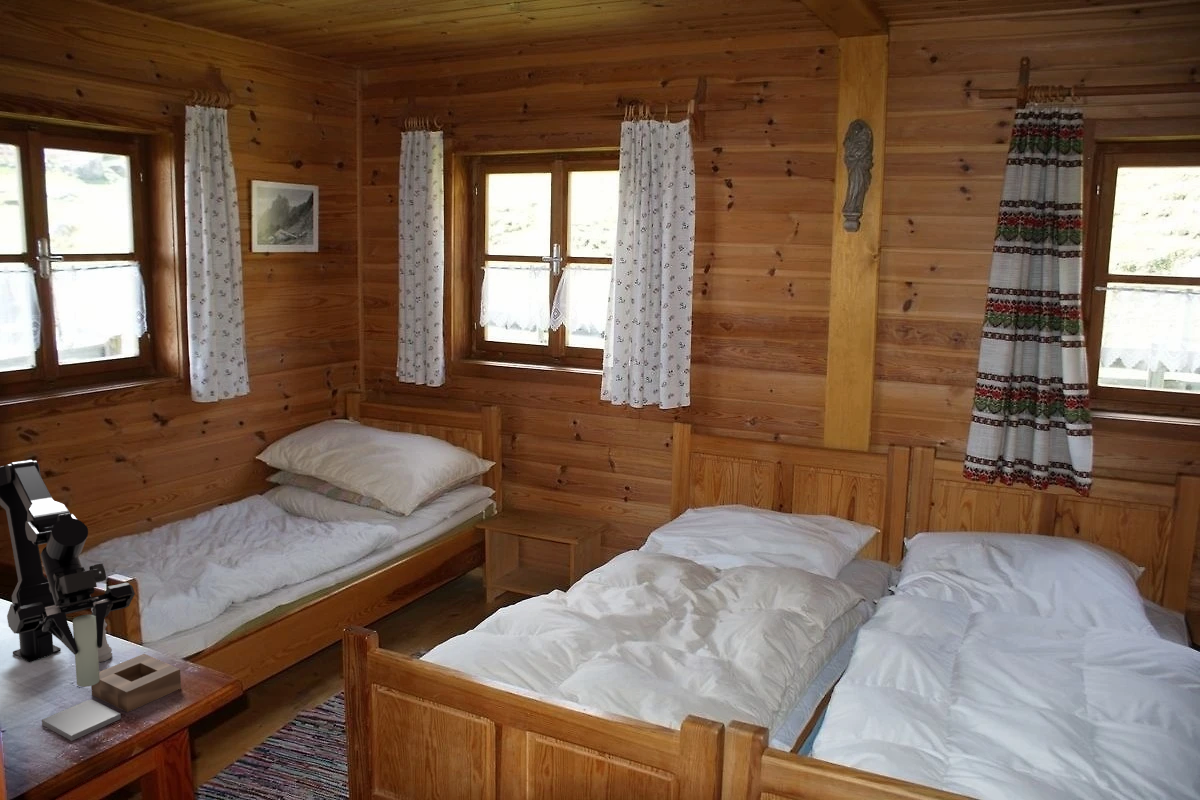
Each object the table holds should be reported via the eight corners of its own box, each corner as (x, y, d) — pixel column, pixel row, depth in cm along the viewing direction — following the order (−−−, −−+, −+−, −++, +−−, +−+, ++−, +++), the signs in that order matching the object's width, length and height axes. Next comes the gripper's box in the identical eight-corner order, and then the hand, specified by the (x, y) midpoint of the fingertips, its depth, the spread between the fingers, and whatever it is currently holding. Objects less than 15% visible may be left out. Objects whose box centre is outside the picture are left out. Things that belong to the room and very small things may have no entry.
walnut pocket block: (91, 694, 181) (90, 675, 180) (145, 672, 190) (144, 653, 189) (127, 712, 175) (126, 692, 175) (180, 688, 185) (180, 669, 184)
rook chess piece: (102, 664, 192) (100, 627, 191) (82, 661, 193) (80, 624, 192) (117, 654, 197) (115, 618, 195) (98, 652, 198) (96, 615, 196)
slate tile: (42, 724, 170) (41, 719, 170) (91, 703, 178) (90, 698, 177) (71, 740, 165) (71, 735, 165) (120, 718, 173) (120, 713, 173)
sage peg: (74, 680, 172) (70, 617, 169) (96, 675, 174) (92, 612, 172) (79, 688, 169) (75, 624, 167) (102, 682, 171) (98, 619, 169)
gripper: (12, 563, 163) (36, 646, 158) (128, 540, 176) (154, 616, 171) (3, 592, 170) (26, 673, 165) (115, 568, 183) (139, 642, 178)
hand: (88, 650), depth 169 cm, fingers closed on sage peg, 4 cm apart
